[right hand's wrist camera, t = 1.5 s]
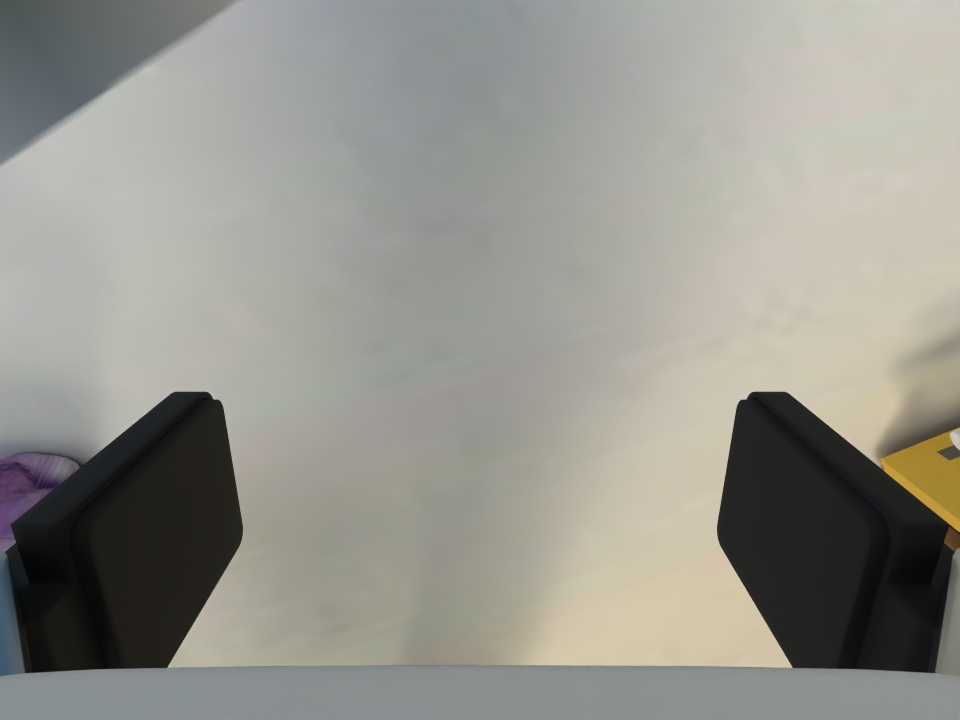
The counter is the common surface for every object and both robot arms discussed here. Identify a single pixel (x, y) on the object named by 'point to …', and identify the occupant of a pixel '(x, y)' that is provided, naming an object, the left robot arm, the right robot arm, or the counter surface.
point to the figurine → (27, 486)
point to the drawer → (931, 474)
